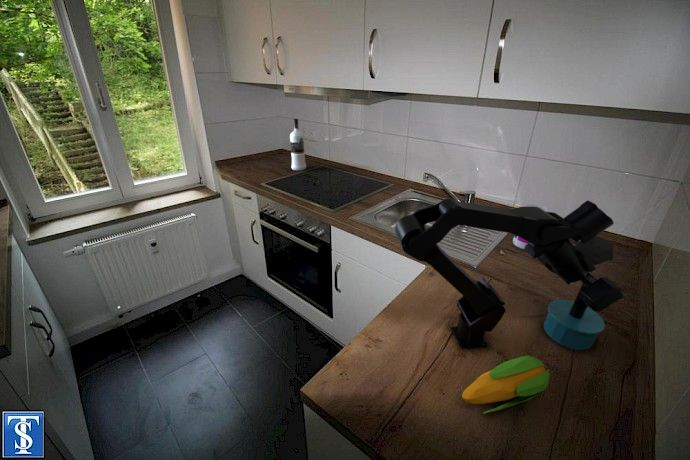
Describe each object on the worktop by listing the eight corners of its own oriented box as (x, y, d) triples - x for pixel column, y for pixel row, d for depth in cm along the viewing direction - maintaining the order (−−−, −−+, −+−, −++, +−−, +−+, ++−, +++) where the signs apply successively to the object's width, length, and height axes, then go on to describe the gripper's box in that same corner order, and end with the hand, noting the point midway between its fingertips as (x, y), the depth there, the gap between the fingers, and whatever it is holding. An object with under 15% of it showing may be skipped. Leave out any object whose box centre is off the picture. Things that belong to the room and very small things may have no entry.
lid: (598, 345, 68) (617, 309, 63) (541, 319, 75) (555, 285, 70) (606, 318, 75) (624, 284, 71) (553, 297, 82) (566, 264, 77)
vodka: (300, 165, 202) (297, 117, 188) (309, 169, 196) (306, 118, 182) (288, 168, 197) (284, 118, 183) (296, 172, 191) (293, 120, 177)
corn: (566, 368, 59) (482, 402, 53) (556, 396, 63) (475, 431, 56) (533, 341, 66) (454, 369, 60) (525, 368, 69) (449, 397, 63)
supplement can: (542, 250, 112) (556, 212, 105) (521, 252, 111) (533, 214, 104) (527, 239, 119) (538, 203, 112) (507, 241, 118) (518, 204, 111)
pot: (603, 348, 73) (612, 331, 71) (562, 351, 72) (570, 334, 70) (571, 317, 82) (578, 301, 80) (534, 320, 81) (541, 303, 79)
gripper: (637, 253, 55) (665, 300, 61) (564, 210, 72) (592, 249, 77) (578, 290, 58) (610, 331, 64) (522, 240, 75) (551, 276, 81)
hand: (590, 293), depth 72 cm, fingers open, 9 cm apart
